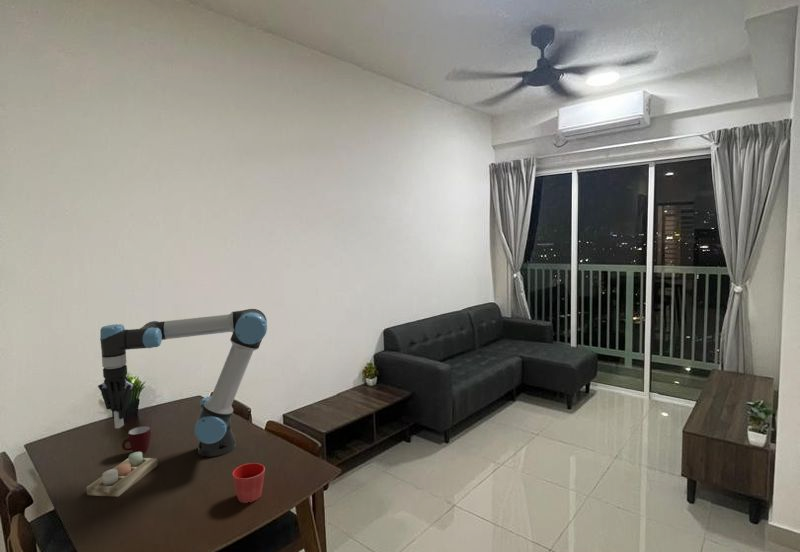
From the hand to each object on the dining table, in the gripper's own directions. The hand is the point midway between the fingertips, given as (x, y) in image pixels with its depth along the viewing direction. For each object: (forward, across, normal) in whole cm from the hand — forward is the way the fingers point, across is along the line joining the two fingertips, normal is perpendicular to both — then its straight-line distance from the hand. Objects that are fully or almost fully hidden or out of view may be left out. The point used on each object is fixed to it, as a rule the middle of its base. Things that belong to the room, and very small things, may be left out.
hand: (119, 426), depth 161 cm
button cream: (+17, -1, +8) cm, 19 cm away
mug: (+21, +7, -18) cm, 28 cm away
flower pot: (+21, -54, +9) cm, 59 cm away
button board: (+20, -1, +1) cm, 20 cm away
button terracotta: (+19, -1, +1) cm, 19 cm away
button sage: (+17, -2, -5) cm, 18 cm away
